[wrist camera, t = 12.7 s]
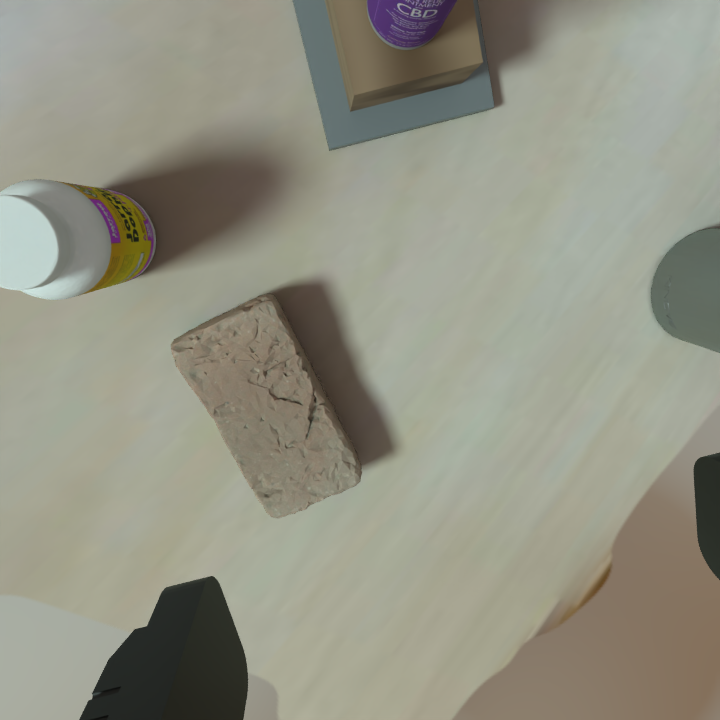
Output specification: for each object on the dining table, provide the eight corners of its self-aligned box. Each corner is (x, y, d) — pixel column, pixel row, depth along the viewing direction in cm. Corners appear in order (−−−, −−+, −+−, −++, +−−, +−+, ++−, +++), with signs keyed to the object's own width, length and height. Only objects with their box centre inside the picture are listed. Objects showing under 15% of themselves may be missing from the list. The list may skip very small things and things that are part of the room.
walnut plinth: (438, -49, 34) (458, -93, 29) (461, 83, 36) (482, 62, 31) (320, -19, 34) (319, -58, 29) (350, 111, 36) (354, 95, 31)
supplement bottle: (177, 242, 39) (109, 253, 26) (114, 300, 39) (18, 337, 27) (110, 168, 37) (2, 143, 25) (45, 230, 38) (-92, 235, 25)
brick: (364, 460, 45) (369, 487, 40) (277, 500, 45) (271, 532, 40) (275, 286, 40) (269, 294, 36) (179, 332, 41) (161, 346, 36)
